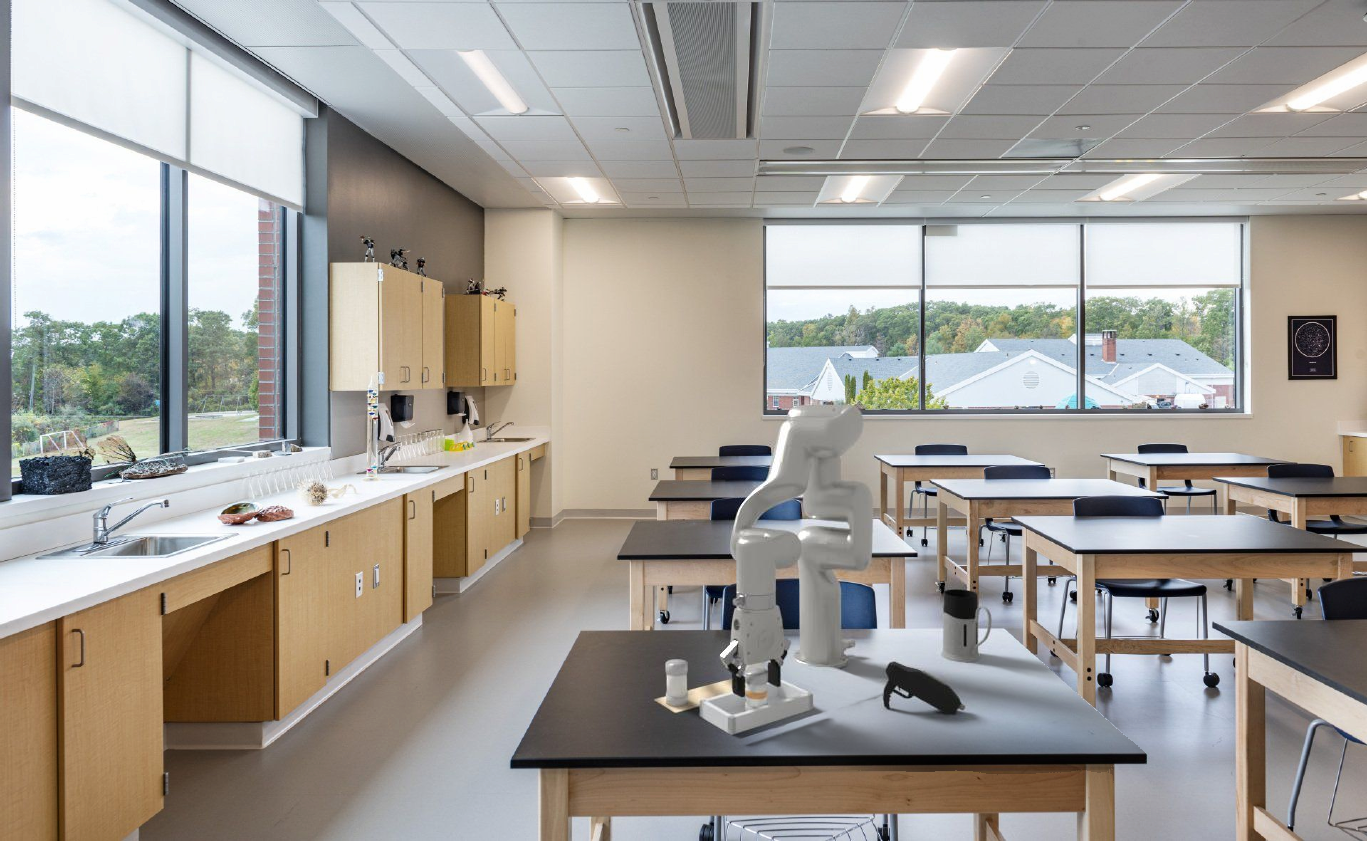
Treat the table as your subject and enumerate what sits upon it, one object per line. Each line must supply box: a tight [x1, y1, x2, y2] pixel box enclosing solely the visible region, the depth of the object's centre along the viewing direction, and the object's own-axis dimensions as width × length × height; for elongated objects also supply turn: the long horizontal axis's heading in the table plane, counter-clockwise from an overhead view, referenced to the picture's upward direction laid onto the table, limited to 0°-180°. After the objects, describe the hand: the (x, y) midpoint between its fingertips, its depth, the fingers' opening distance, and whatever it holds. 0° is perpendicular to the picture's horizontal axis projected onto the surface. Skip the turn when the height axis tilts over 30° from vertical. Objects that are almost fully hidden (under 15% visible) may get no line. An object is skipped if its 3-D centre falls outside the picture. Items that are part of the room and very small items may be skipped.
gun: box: [882, 661, 966, 716], centre depth 154 cm, size 3×16×10 cm, turn 79°
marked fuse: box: [744, 668, 768, 711], centre depth 151 cm, size 4×4×8 cm
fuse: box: [665, 658, 689, 707], centre depth 156 cm, size 4×4×8 cm
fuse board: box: [653, 674, 746, 714], centre depth 162 cm, size 26×8×1 cm, turn 124°
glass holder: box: [940, 588, 992, 663], centre depth 182 cm, size 9×14×15 cm, turn 21°
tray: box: [699, 679, 814, 736], centre depth 151 cm, size 20×10×4 cm, turn 124°
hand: (756, 689), depth 151 cm, fingers open, 8 cm apart
